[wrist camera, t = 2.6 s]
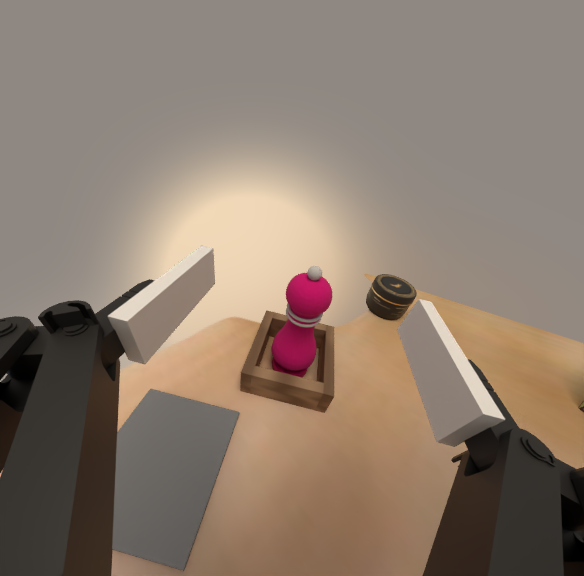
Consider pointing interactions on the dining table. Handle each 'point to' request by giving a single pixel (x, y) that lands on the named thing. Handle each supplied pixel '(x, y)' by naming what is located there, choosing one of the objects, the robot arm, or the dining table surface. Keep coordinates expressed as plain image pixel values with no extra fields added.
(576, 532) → the robot arm
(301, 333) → the pepper mill
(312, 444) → the dining table surface
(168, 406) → the mat
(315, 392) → the walnut box
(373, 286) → the jar
